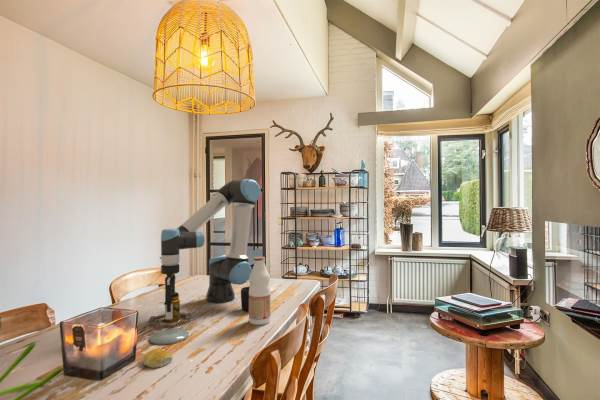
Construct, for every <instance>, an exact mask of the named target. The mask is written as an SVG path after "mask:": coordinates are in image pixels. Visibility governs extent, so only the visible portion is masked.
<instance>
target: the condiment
mask: <svg viewBox="0 0 600 400" xmlns="http://www.w3.org/2000/svg"><path fill="white" fill-rule="evenodd" d="M172 303H173V319H167V320H166V305H164V314H165V317H164V318H161V319H158V323H159V324H169V323H177V322H178V321H179V320H180V319H181V316H180V313H181V308H180V305H181V304H180V303H181V300H180V295H179V292H176V291H175V292H172ZM182 320H183V319H181V320H180V321H182Z"/></svg>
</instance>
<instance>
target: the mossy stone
mask: <svg viewBox="0 0 600 400" xmlns="http://www.w3.org/2000/svg"><path fill="white" fill-rule="evenodd" d="M173 357H174V355H173V353H171V352H170V351H169V350H165V349H162V348H154V349H151V350H149V351H148V352H147V353H146V354H145V355H144V357H143V361H142V362H143V365H144V366H145V367H148V368H151V369H157V368H162V367H164V366H168V365H169V364H171V362H172V360H173Z"/></svg>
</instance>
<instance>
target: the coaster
mask: <svg viewBox="0 0 600 400" xmlns="http://www.w3.org/2000/svg"><path fill="white" fill-rule="evenodd" d="M188 337H189V331H187V330H186V329H182V328H169V329H168V328H167V329H164V330H160V331H159V330H158V331H157V332H155V333H153V334H151V335H150V337H149V343H151V344H153V345H159V346H165V345H174V344H177V343H180V342H182V341H183V342H184V341H185V340H186V339H188Z"/></svg>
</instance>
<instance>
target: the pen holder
mask: <svg viewBox="0 0 600 400" xmlns="http://www.w3.org/2000/svg"><path fill="white" fill-rule="evenodd" d="M249 287H250V286H244V287H242V288H241V290H240V303H241V305H240V306H241V310H242V311H243V312H248V313H249Z"/></svg>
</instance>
